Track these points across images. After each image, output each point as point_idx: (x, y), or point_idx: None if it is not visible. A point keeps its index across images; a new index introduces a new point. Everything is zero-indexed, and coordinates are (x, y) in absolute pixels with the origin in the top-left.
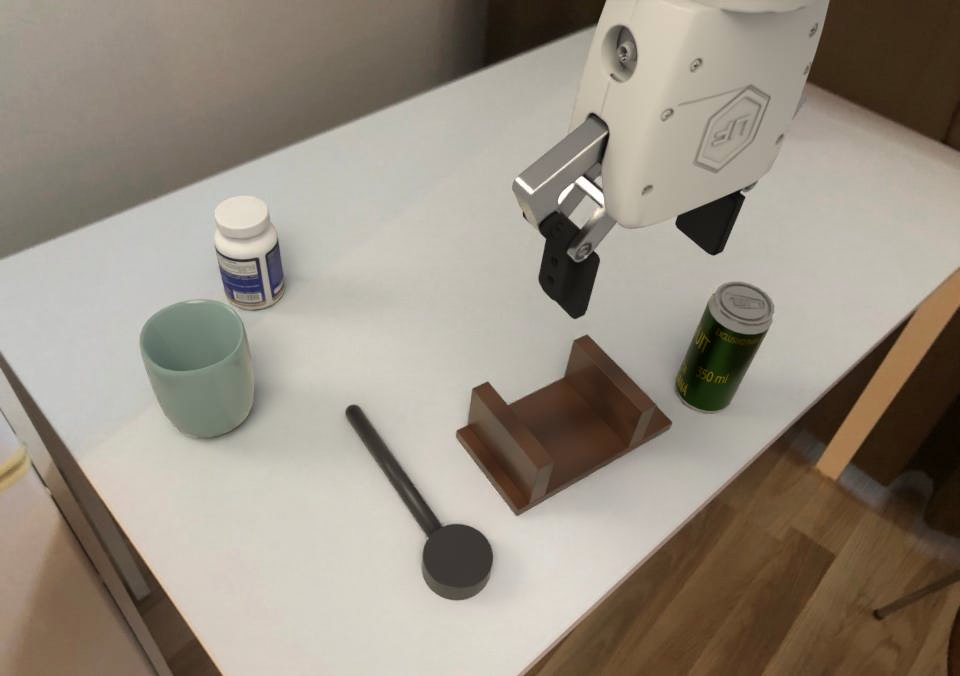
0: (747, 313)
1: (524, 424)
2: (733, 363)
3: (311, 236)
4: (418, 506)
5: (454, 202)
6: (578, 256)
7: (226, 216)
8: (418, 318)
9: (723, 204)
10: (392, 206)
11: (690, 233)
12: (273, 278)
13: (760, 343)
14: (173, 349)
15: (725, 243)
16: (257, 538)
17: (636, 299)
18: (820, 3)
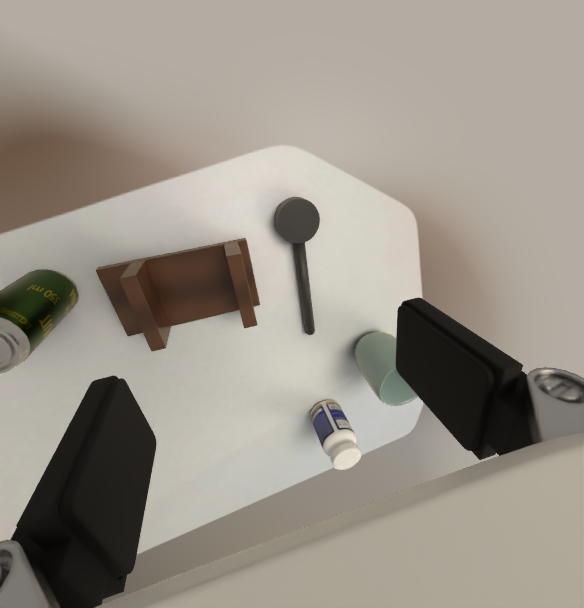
0: None
1: (215, 298)
2: (19, 296)
3: (283, 442)
4: (304, 262)
5: (189, 463)
6: (540, 379)
7: (355, 456)
8: (246, 384)
9: (91, 494)
10: (230, 460)
11: (142, 423)
12: (324, 416)
13: None
14: (400, 379)
15: (86, 396)
16: (378, 272)
17: (77, 379)
18: None
